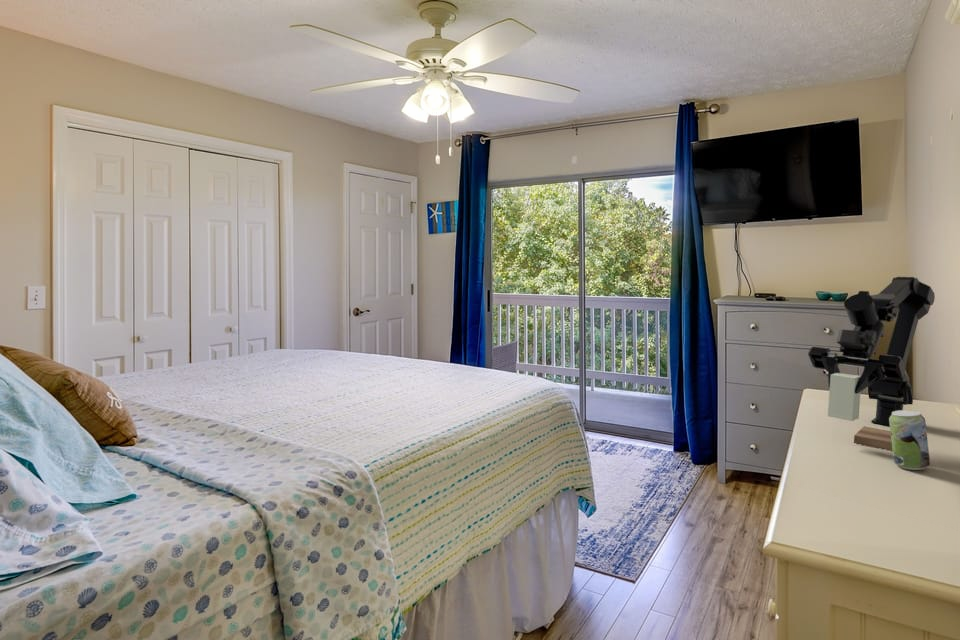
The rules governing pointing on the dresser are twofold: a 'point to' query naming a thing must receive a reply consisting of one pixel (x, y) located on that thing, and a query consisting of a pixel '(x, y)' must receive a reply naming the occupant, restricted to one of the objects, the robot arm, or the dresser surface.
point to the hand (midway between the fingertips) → (842, 390)
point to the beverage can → (909, 439)
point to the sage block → (844, 397)
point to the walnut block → (874, 438)
